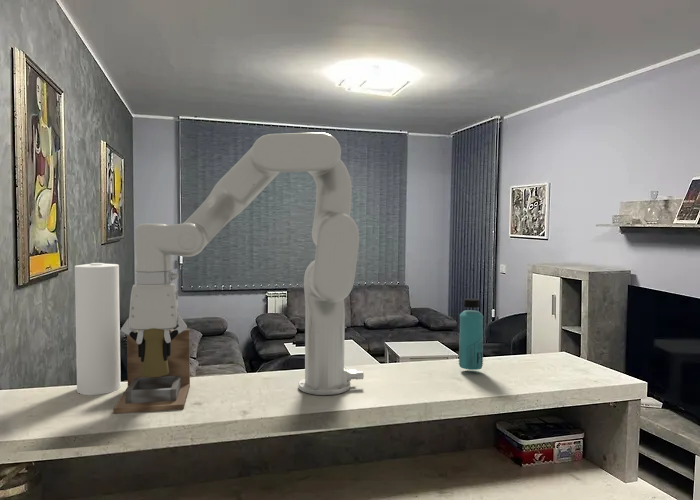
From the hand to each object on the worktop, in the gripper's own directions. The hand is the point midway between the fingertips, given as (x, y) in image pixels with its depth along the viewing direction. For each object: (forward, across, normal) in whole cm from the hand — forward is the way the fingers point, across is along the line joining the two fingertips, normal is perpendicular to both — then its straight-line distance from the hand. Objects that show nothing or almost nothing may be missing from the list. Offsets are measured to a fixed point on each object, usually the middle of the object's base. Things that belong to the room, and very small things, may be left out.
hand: (154, 358), depth 119 cm
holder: (+9, 0, 0) cm, 9 cm away
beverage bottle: (+9, -80, -7) cm, 81 cm away
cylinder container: (+9, +14, -10) cm, 20 cm away
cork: (+3, 0, 0) cm, 3 cm away
